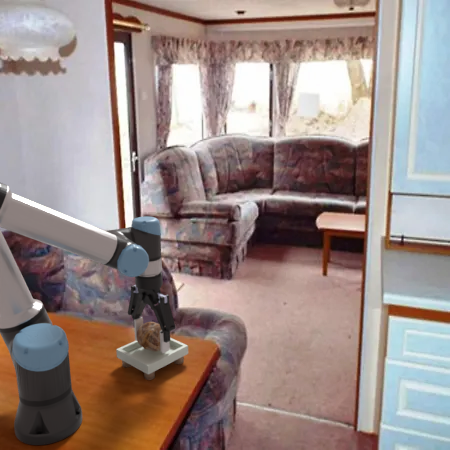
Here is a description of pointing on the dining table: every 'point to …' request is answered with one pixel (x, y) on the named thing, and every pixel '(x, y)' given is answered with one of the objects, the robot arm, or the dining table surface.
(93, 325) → the dining table surface
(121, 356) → the shallow white square tray
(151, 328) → the seashell
